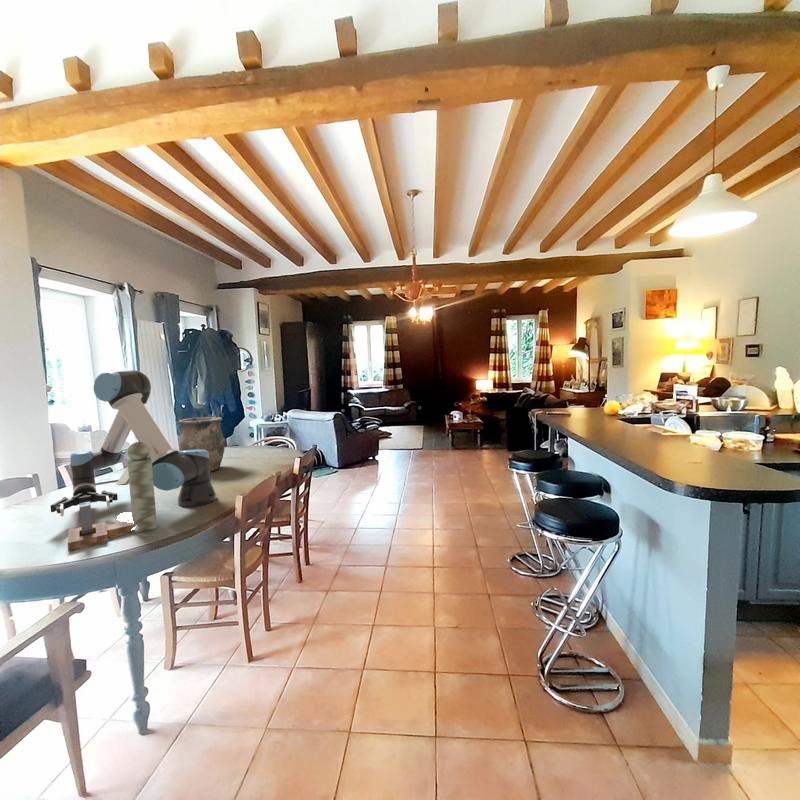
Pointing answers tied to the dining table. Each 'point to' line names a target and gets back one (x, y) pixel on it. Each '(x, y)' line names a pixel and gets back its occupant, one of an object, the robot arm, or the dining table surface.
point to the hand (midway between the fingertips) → (85, 508)
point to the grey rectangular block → (86, 518)
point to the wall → (124, 478)
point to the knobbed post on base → (140, 503)
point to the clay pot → (203, 438)
